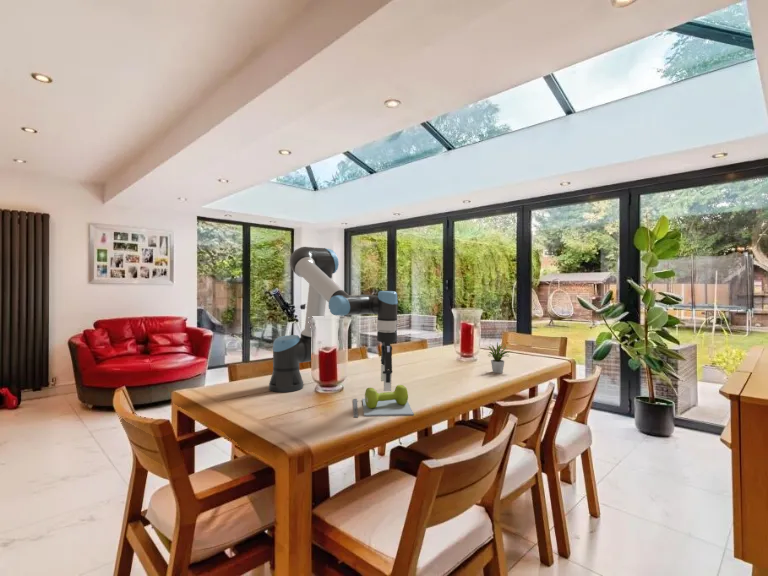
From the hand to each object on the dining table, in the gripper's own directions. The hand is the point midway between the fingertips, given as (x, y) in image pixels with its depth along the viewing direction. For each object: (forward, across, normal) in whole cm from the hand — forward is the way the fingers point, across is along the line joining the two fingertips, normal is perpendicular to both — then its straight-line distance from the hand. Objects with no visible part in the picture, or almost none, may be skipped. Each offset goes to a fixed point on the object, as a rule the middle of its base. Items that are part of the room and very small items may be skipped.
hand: (385, 385), depth 153 cm
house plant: (+8, +56, -65) cm, 86 cm away
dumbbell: (+8, 0, 0) cm, 8 cm away
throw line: (+8, 0, +12) cm, 14 cm away
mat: (+8, 0, 0) cm, 8 cm away
